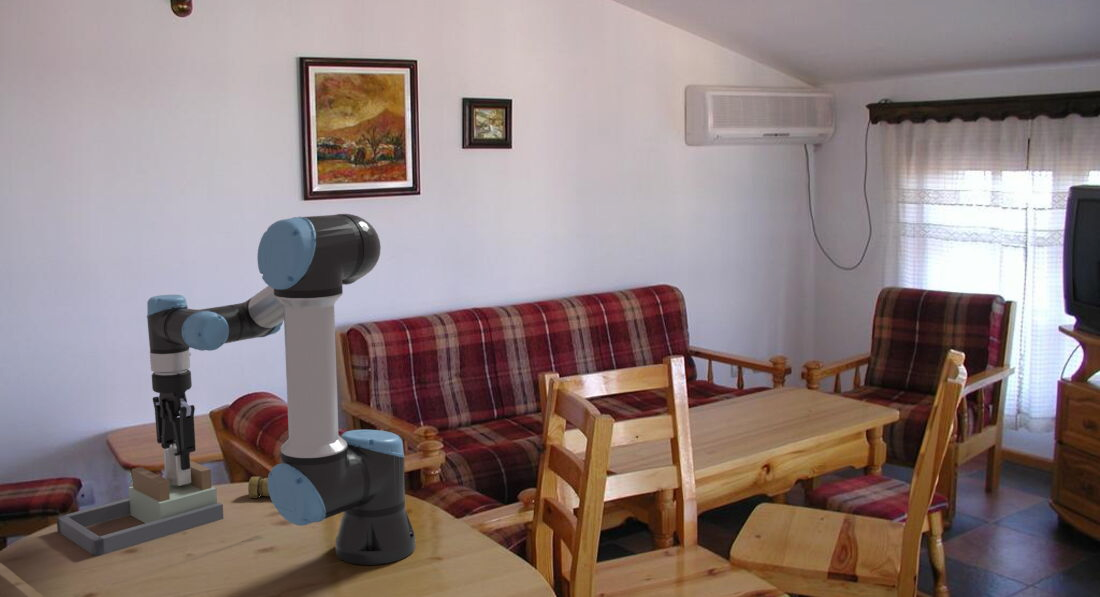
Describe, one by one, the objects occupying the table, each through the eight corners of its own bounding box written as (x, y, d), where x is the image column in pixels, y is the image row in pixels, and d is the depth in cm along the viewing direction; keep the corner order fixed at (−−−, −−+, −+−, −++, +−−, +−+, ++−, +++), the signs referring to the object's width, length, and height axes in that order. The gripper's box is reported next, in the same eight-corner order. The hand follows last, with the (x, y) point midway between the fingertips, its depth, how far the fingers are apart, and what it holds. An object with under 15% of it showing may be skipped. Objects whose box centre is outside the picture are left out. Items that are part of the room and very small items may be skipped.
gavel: (274, 456, 241) (316, 456, 241) (275, 474, 241) (316, 474, 241) (247, 479, 220) (293, 479, 220) (248, 500, 220) (293, 500, 220)
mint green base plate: (217, 516, 208) (215, 469, 206) (162, 532, 199) (158, 484, 198) (185, 500, 217) (182, 455, 216) (130, 515, 209) (127, 468, 207)
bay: (223, 523, 207) (222, 504, 206) (96, 561, 188) (94, 541, 187) (181, 502, 219) (180, 484, 218) (58, 536, 200) (56, 517, 200)
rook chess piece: (179, 487, 205) (177, 449, 204) (161, 484, 207) (159, 447, 205) (194, 480, 209) (192, 443, 208) (176, 477, 211) (174, 441, 210)
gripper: (209, 374, 201) (216, 486, 205) (168, 361, 213) (175, 467, 217) (173, 380, 196) (181, 495, 199) (133, 367, 208) (141, 476, 211)
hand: (178, 480), depth 208 cm, fingers closed on rook chess piece, 4 cm apart
